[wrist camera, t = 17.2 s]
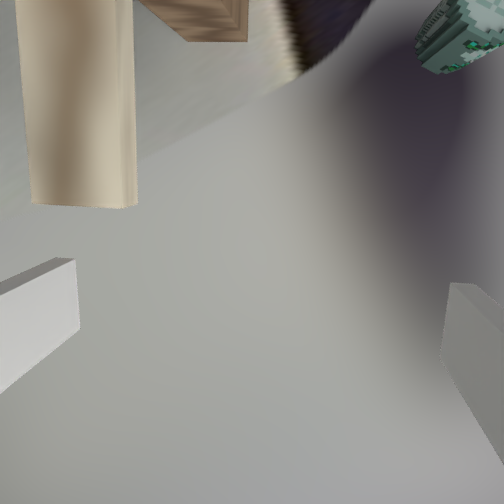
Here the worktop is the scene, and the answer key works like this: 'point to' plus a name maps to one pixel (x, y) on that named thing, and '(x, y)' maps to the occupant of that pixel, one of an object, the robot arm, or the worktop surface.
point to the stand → (204, 18)
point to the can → (460, 33)
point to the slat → (79, 101)
